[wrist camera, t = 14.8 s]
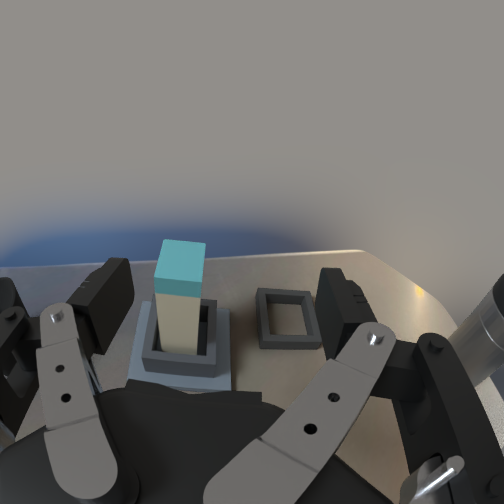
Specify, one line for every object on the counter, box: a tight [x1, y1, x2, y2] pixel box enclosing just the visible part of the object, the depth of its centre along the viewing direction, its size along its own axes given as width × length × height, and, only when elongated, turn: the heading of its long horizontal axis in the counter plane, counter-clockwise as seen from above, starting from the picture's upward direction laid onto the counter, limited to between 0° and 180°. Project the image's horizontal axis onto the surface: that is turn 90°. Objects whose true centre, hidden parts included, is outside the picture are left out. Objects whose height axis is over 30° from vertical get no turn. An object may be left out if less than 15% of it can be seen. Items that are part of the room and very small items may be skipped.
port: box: [127, 294, 231, 392], centre depth 34 cm, size 12×12×4 cm
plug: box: [154, 239, 206, 355], centre depth 30 cm, size 4×5×14 cm
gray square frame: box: [255, 288, 322, 349], centre depth 41 cm, size 8×9×2 cm
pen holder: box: [0, 277, 30, 376], centre depth 25 cm, size 9×9×10 cm
